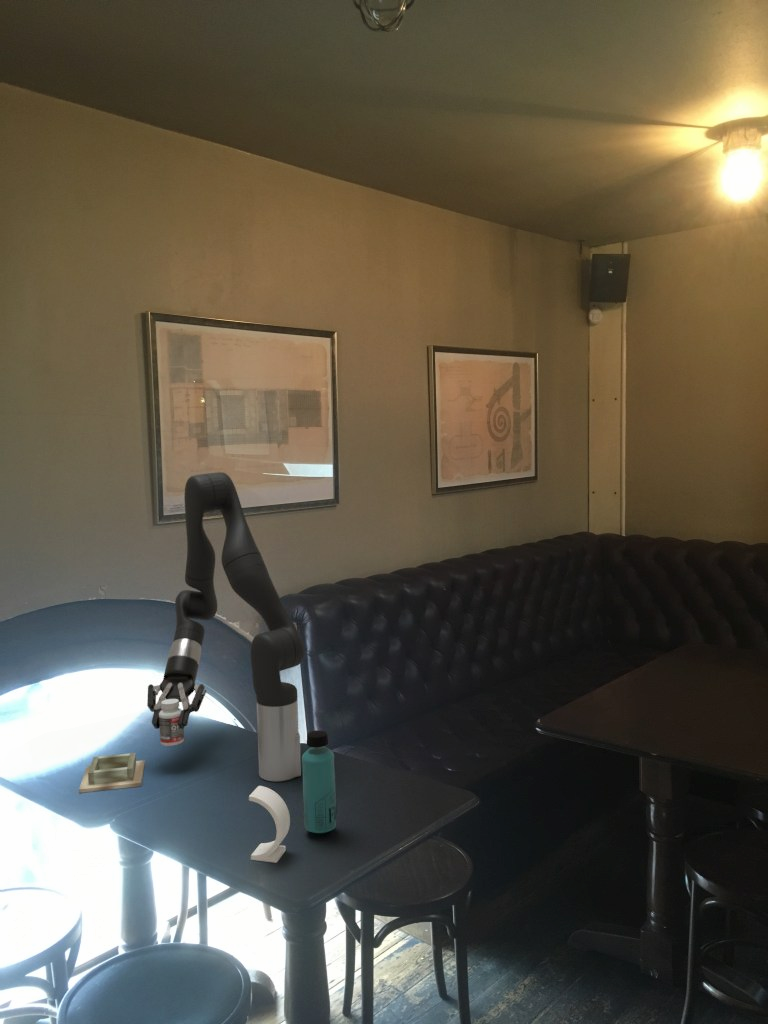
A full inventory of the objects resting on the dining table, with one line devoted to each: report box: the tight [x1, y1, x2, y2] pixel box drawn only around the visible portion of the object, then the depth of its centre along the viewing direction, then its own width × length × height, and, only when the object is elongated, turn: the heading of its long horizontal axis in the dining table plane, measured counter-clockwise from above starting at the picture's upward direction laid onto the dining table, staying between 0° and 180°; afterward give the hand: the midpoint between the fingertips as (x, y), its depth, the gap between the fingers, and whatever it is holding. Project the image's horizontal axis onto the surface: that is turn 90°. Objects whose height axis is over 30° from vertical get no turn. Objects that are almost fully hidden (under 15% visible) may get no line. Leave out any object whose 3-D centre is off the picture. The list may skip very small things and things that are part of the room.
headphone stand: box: [248, 785, 291, 864], centre depth 148 cm, size 5×6×12 cm
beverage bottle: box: [301, 730, 338, 834], centre depth 156 cm, size 6×7×20 cm
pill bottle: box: [159, 699, 185, 747], centre depth 187 cm, size 5×5×10 cm
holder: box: [78, 752, 146, 794], centre depth 184 cm, size 13×13×4 cm
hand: (168, 727), depth 185 cm, fingers closed on pill bottle, 5 cm apart
